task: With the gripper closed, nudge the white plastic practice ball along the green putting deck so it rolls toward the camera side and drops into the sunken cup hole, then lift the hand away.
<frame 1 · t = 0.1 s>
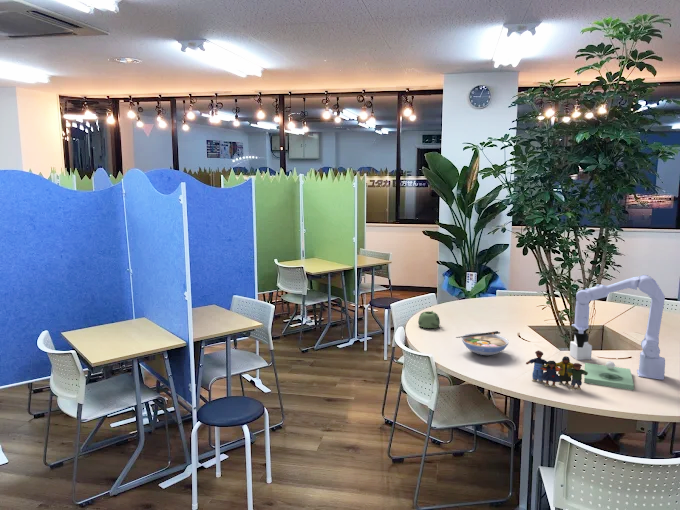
hand: (580, 344, 225), 10 cm above the table, fingers open, 7 cm apart
ramen bowl: (484, 353, 243), on the table
green dome: (429, 326, 293), on the table
deck: (607, 377, 211), on the table
medicine bottle: (580, 357, 236), on the table
ball: (610, 365, 215), point 4 cm above the table, touching deck
doll family: (555, 384, 205), on the table
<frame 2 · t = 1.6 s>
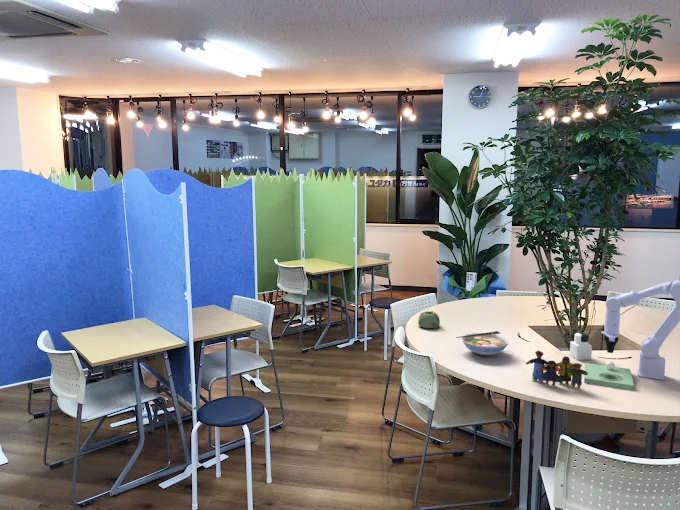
hand: (610, 352, 221), 8 cm above the table, fingers closed
nothing on the table moved.
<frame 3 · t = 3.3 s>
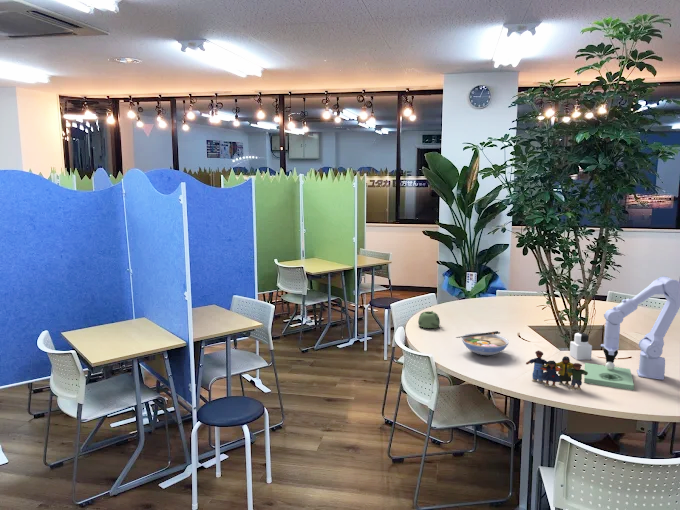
hand: (609, 365, 217), 3 cm above the table, fingers closed, pressing on ball
ball: (610, 365, 215), point 4 cm above the table, tilted 17°, touching deck, gripper
everything else where it was.
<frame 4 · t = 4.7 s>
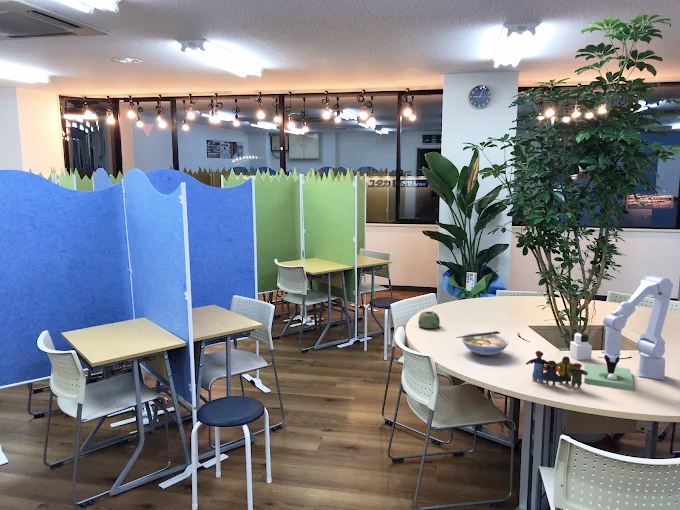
hand: (610, 372, 209), 3 cm above the table, fingers closed
ball: (612, 378, 206), point 2 cm above the table, tilted 23°
everything else where it was.
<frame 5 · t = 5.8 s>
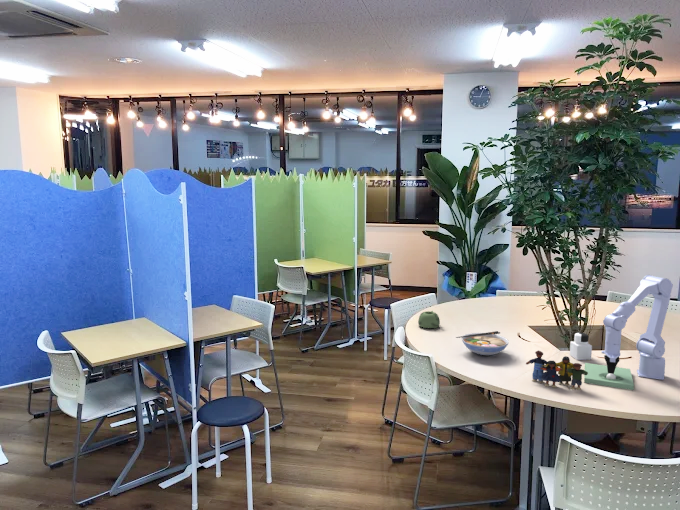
hand: (610, 373, 209), 3 cm above the table, fingers closed
nothing on the table moved.
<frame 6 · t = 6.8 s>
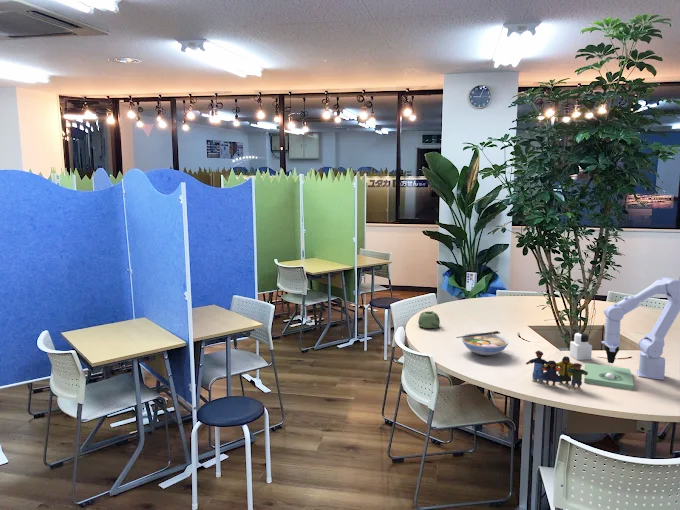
hand: (610, 362, 216), 5 cm above the table, fingers closed
ball: (609, 377, 207), point 2 cm above the table, tilted 39°
everything else where it was.
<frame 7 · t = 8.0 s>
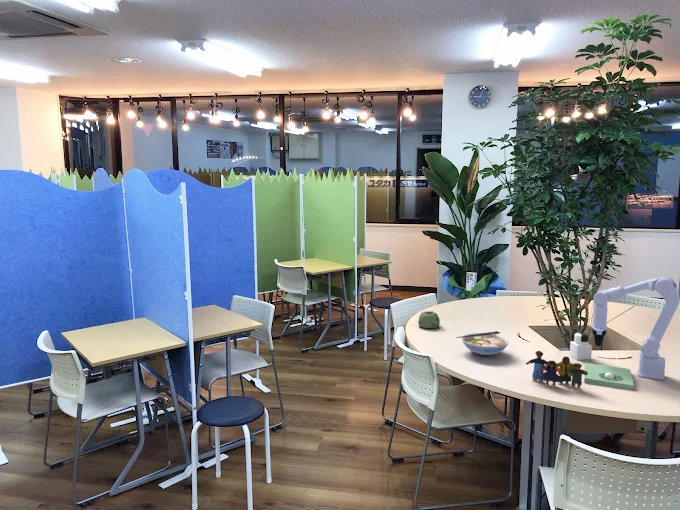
hand: (597, 345, 225), 9 cm above the table, fingers closed
ball: (609, 377, 207), point 2 cm above the table, tilted 46°
everything else where it was.
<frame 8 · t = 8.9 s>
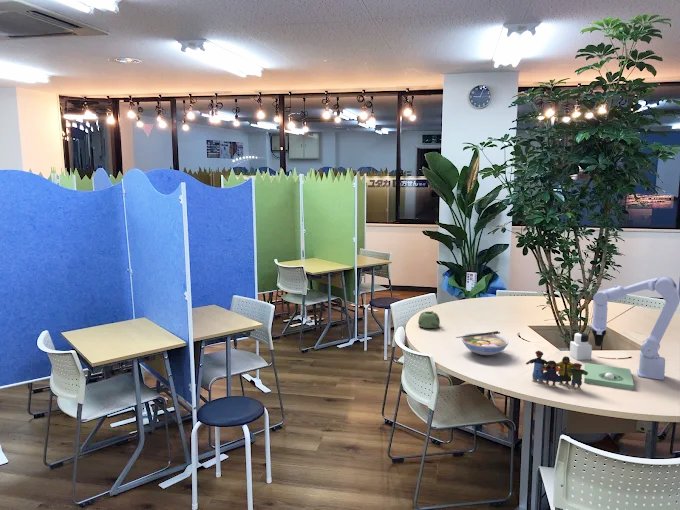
hand: (597, 345, 225), 9 cm above the table, fingers closed
nothing on the table moved.
at the end: ball 0.6 cm from the target spot in the deck, point 1.8 cm above the deck's base; the gripper is holding nothing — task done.
